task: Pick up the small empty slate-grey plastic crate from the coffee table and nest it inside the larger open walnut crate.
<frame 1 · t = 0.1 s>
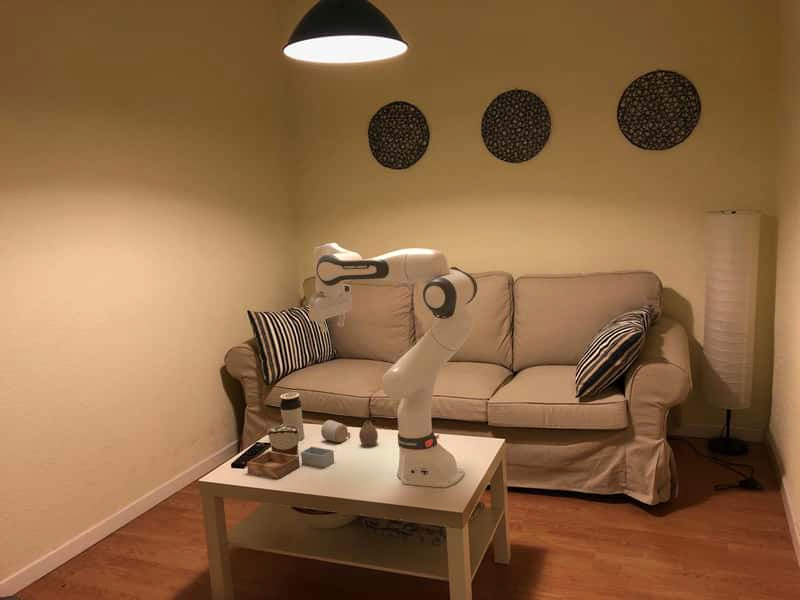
hand: (332, 329, 239), 48 cm above the table, tool pointing down, fingers open, 8 cm apart
food container: (287, 452, 258), on the table
small crate: (318, 463, 245), on the table
ceramic mug: (337, 440, 268), on the table
travel mug: (294, 439, 272), on the table
big crate: (274, 470, 242), on the table
vase: (369, 445, 260), on the table
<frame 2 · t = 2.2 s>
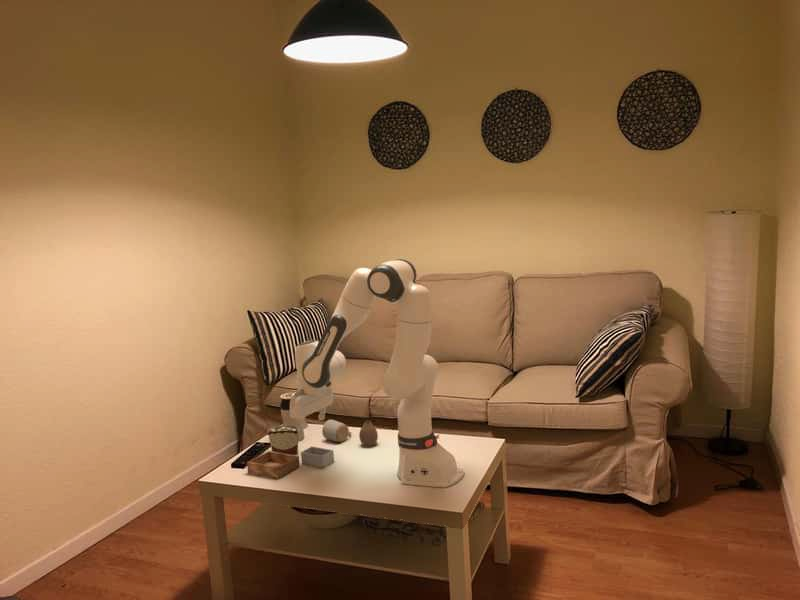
hand: (313, 423, 243), 15 cm above the table, tool pointing down, fingers open, 8 cm apart
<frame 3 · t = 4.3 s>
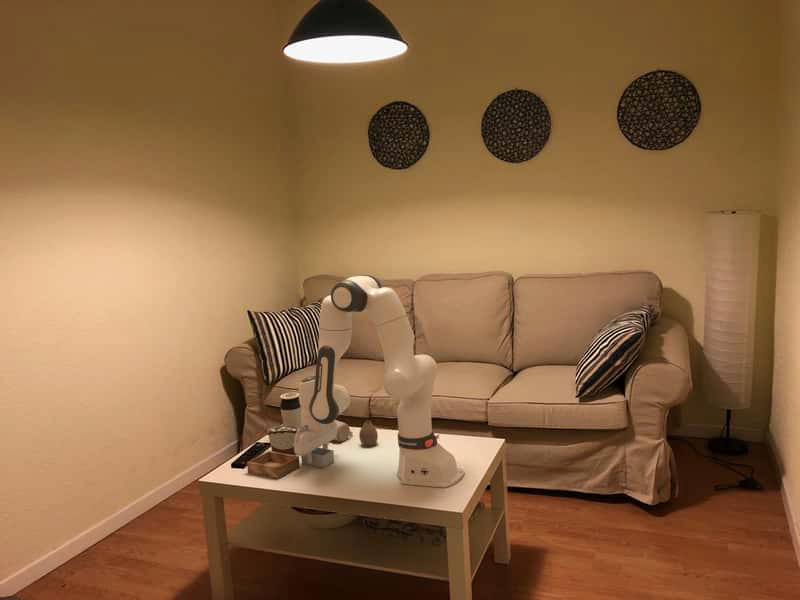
hand: (317, 458, 245), 2 cm above the table, tool pointing down, fingers closed on small crate, 6 cm apart
small crate: (318, 463, 245), on the table, touching gripper
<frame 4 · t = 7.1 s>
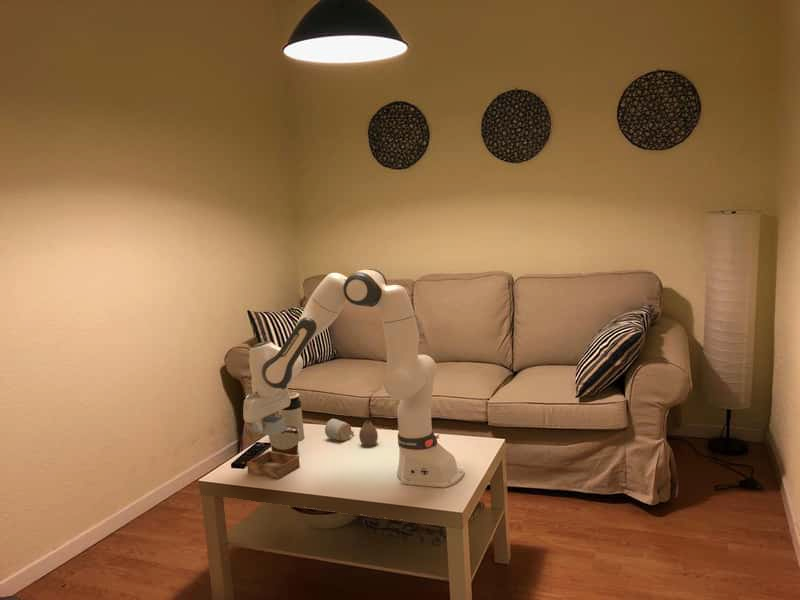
hand: (269, 426, 240), 16 cm above the table, tool pointing down, fingers closed on small crate, 6 cm apart
small crate: (269, 431, 240), point 14 cm above the table, touching gripper
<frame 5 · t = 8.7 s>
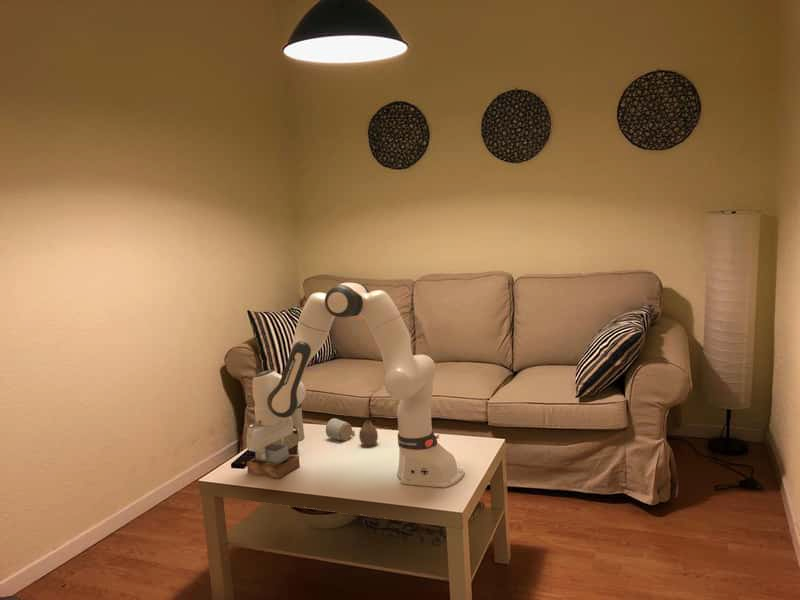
hand: (272, 454, 241), 6 cm above the table, tool pointing down, fingers closed on small crate, 6 cm apart
small crate: (272, 459, 242), point 4 cm above the table, touching gripper
when the fingers open (5 cm above the table, at t = 9.9 s): small crate drops 2 cm, resting on big crate.
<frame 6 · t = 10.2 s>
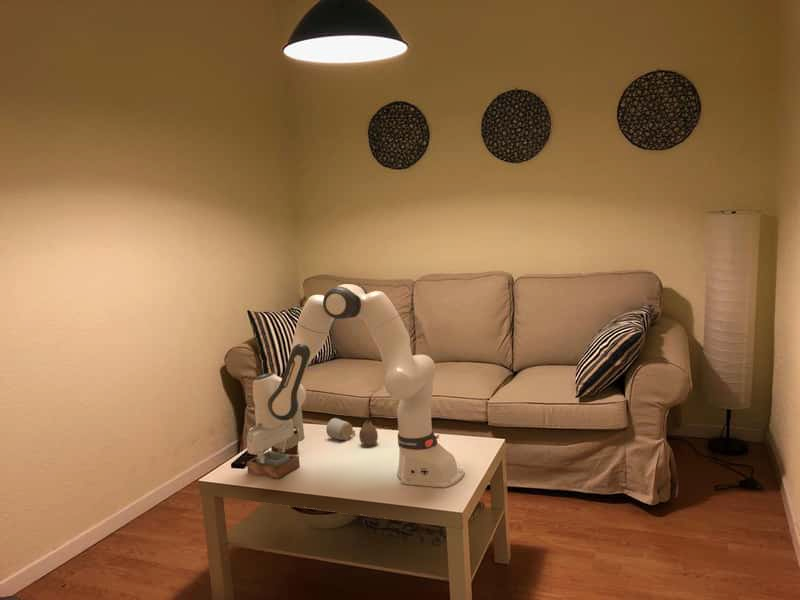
hand: (272, 457, 241), 5 cm above the table, tool pointing down, fingers open, 8 cm apart
small crate: (273, 468, 242), point 1 cm above the table, touching big crate
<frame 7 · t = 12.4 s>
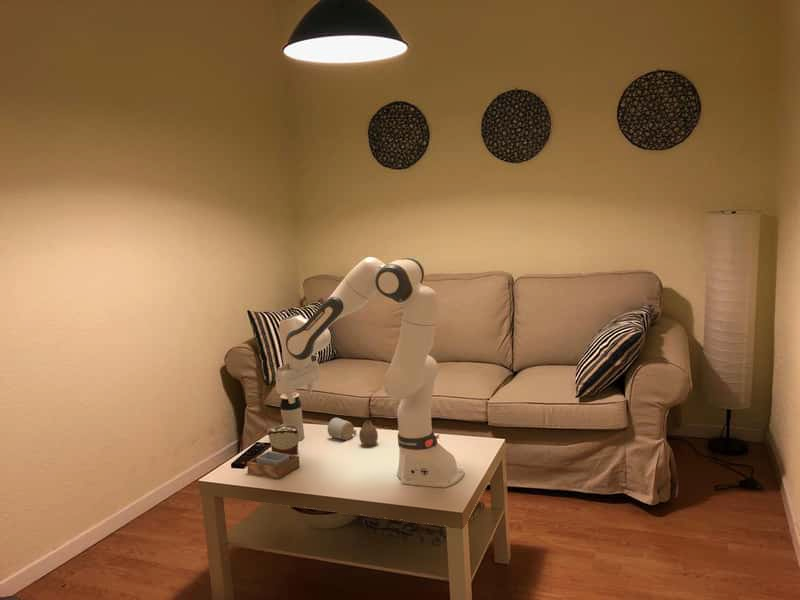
hand: (300, 399, 243), 24 cm above the table, tool pointing down, fingers open, 8 cm apart
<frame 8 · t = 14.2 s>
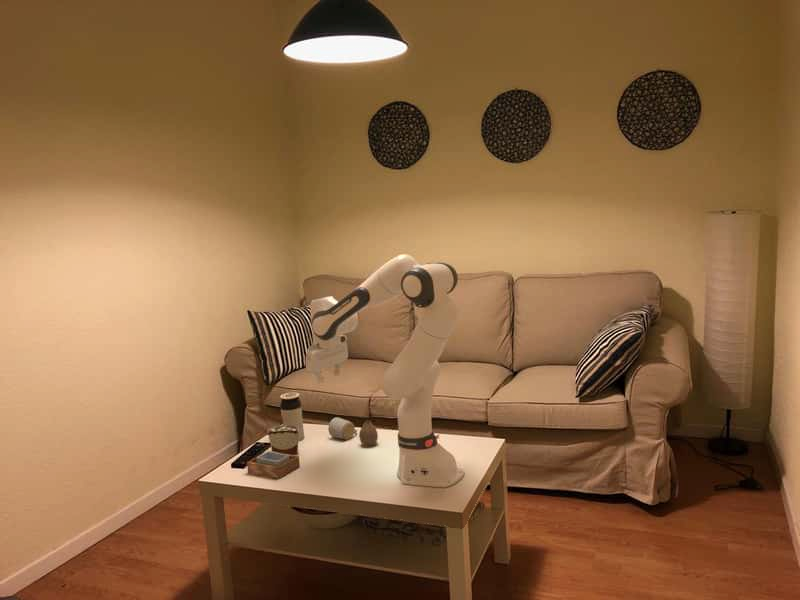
hand: (329, 378, 246), 29 cm above the table, tool pointing down, fingers open, 8 cm apart
at the end: small crate 0.0 cm off-centre on the big crate, point 0.6 cm above the big crate's base; small crate tilted 0°; the gripper is holding nothing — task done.
